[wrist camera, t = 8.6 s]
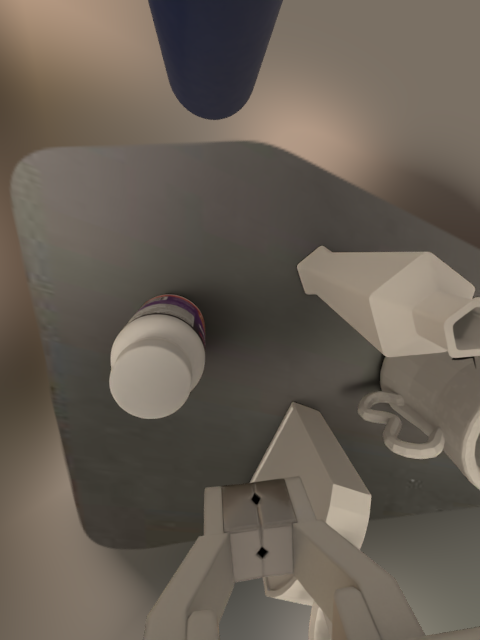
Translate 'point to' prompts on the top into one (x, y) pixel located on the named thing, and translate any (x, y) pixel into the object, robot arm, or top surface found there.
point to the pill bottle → (158, 357)
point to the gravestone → (315, 494)
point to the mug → (431, 407)
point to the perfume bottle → (397, 300)
